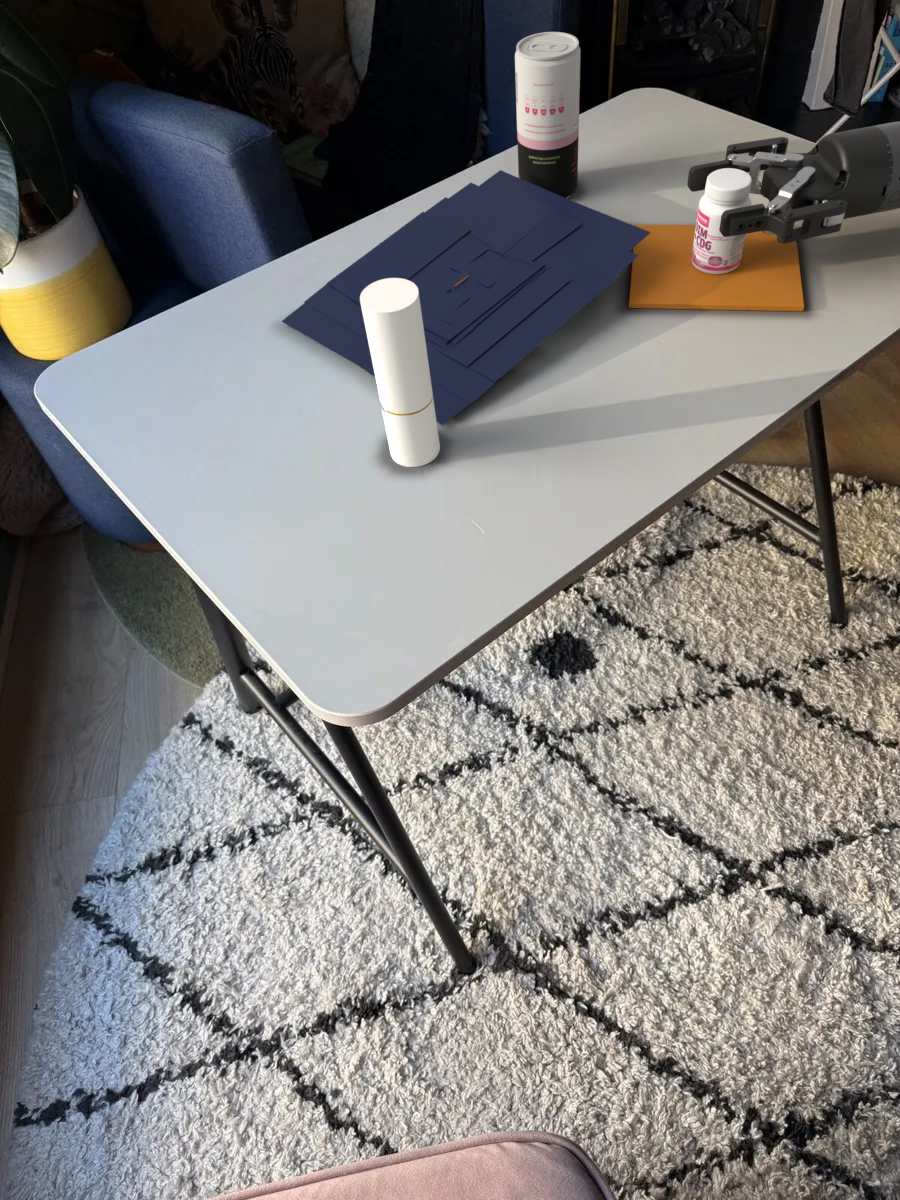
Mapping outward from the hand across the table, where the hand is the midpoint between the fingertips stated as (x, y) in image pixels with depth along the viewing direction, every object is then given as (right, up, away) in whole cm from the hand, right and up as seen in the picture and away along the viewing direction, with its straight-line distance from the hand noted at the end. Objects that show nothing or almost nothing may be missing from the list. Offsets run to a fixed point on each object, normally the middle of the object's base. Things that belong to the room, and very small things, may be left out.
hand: (705, 201), depth 81 cm
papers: (-22, -7, +6) cm, 24 cm away
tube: (-27, -24, -6) cm, 37 cm away
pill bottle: (+3, -4, +5) cm, 7 cm away
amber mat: (+3, -4, +6) cm, 7 cm away
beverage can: (-13, +9, +18) cm, 24 cm away
